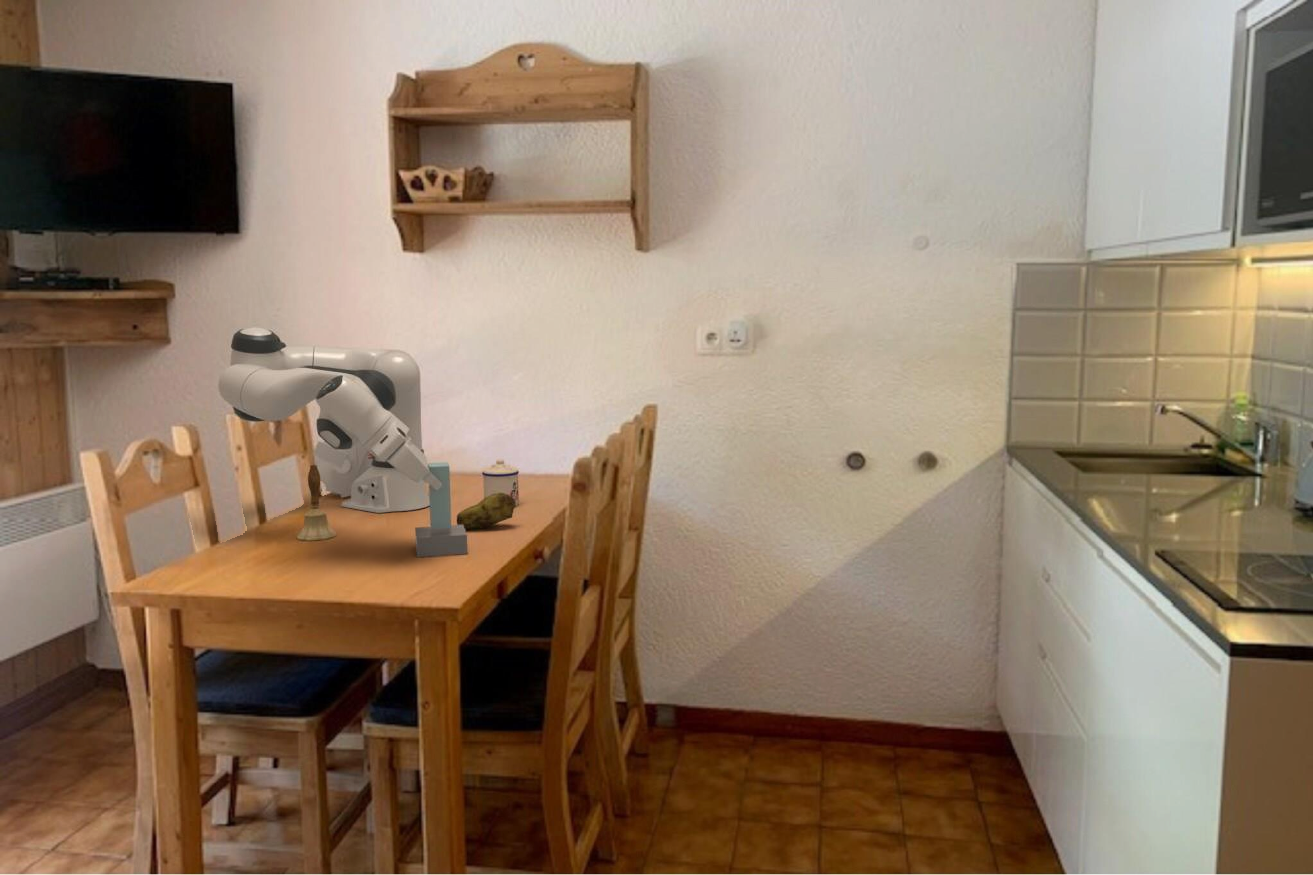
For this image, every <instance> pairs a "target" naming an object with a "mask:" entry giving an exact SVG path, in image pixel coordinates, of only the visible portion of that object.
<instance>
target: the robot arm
mask: <svg viewBox="0 0 1313 875" xmlns="http://www.w3.org/2000/svg"><path fill="white" fill-rule="evenodd" d="M230 348H231V354H230V365H229V366H228V367H227V368H226V369H224V370H223V372H222V373H221V374H220V377H219V379H218V385H217V386H218V392H219V394H220V397H221V398H222V399H223V400H224V401H225V402H226V403H227V404H229V405H231V406H232V410H233V412H234V414H235V415H236V416H237V417H239V418H240V419H242V420H243V421H247V422H248V421H249V422H264V421H266V422H267V421H268V422H278V421H279V422H280V421H282V420H286V419H288V418H290V417H292V416H294V415H295V414H296V413H298V412H299V411H300V410H302V409H303V408H304V407H306V406H307V405H308V404H310V403H311V402H313V401H314V400H315V401H316V404H317V405H318V406H319V415H318V418H317V419H316V431H317V434H318V436H319V438H321V439H322V440H323V442H324V441H325V442H327V443H328V444H329V445H330V446H331V447H333V448H334V449H350V448H351V447H353V446H355V445H356V444H357V443H358V442H360V444H361V445H362V446H363V447H364V448H365V449H366V450H368V451H369V452H370V453H371V454H369V455H371V457H369V458H368V459H372V458H373V460H372V464H371V465H372V466H371V467H370V468H368V469H367V470H366V471H365V472H364V473H363V474H362V475H360V476H359V477H358V478H357V479H356V480H355V481H354V482H353V484H352V489H351V495H350V498H347V499H345V500H344V501H342V502H341V507H342V508H343V507H344V508H349V509H353V510H354V509H355V510H361V511H365V512H366V511H367V512H370V513H376V514H381V513H389V512H403V511H413V510H418V509H423V508H427V507H430V497H429V494H428V488H427V485H428V486H429V485H431V486H432V487H433V488H434V489H435V490H438V489H439V488H440V487H441V486H442V482H441V481H440V480H438V479H437V478H436V477H435V476H434V475H433V474H432V473H431V472H430V471H429V467H428V460H427V457H426V455H425V450H424V449H423V443H422V442H423V440H422V438H423V437H422V410H421V409H422V406H421V405H422V404H421V403H422V398H421V397H422V395H421V394H422V393H421V371H420V366H419V365H418V362H417V361H416V360H415V359H414V358H413V357H412V356H411V355H410V354H409V353H407V352H406V351H404V350H401V349H389V348H388V349H385V348H384V349H383V348H357V347H356V348H355V347H354V348H353V347H352V348H351V347H338V346H337V347H336V346H335V347H334V346H321V345H319V346H318V345H317V346H316V345H290V346H287V345H286V343H285V342H283V341H281V339H280V337H279V336H278V335H277V334H276V332H273V331H272V330H269V329H267V328H263V327H258V326H252V327H247V328H241V329H239V330H237V331H236V332H235V333H234V334H233V336H232V340H231V343H230ZM369 455H368V456H369Z"/></svg>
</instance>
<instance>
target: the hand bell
mask: <svg viewBox="0 0 1313 875" xmlns="http://www.w3.org/2000/svg"><path fill="white" fill-rule="evenodd" d="M309 466H310V467H309V472H308V475H307V483H308V488H309V491H310V509H309V510H308V511H307V512H305V513H304V522H303V527H302V529H301V530H300V532H299V533H298V534H297V535H296V538H297V539H298V540H299V541H314V542H315V541H323V540H329V539H332V538H335V537H336V536H337V533H336V531H335V530H334V529H332V527H331V526H330V524H329V521H328V518H327V517H328V516H327V512H326V511H324V510H323V509H320V502H319V501H320V500H319V498H320V497H319V491H320V487H321V481H320V474H319V471H318V469H317V465H316V464H311V465H309Z"/></svg>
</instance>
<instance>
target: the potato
mask: <svg viewBox="0 0 1313 875" xmlns="http://www.w3.org/2000/svg"><path fill="white" fill-rule="evenodd" d="M515 504H516V503H515V500H514V498H513V497H511V496H510V495H507V494H505V493H497V494H492V495H490V496H488V497H486V498H484V497H483V499H482V500H481V501H479V502H478V503H477V504H474V505H472V506H469V507H467V508H464V509H463V510H461V511H460V512H458V513H457V515H456V525H464V528H465V530H470V529H485V528H490V527H492V526H495V525H497V524H498V523H500V522H504V521H507V520H509V519H512V518H513V517H514V516H513V514H514V510H515V508H516V507H515Z"/></svg>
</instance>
